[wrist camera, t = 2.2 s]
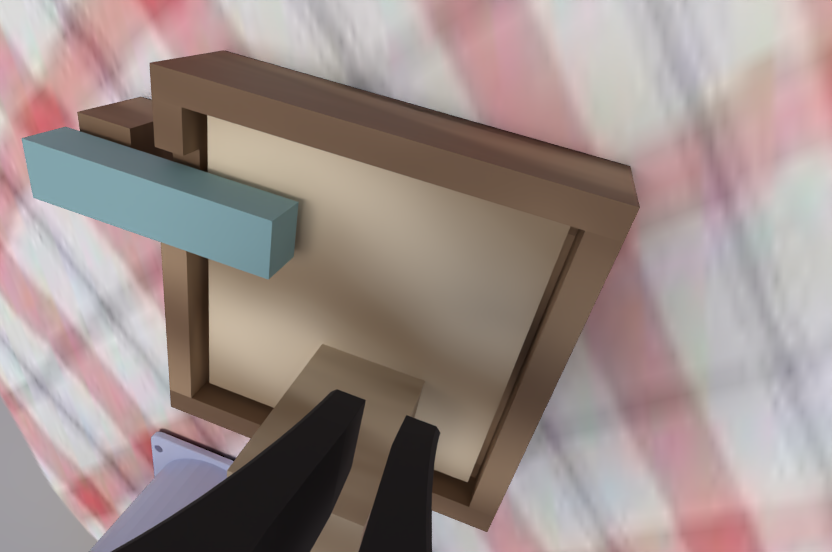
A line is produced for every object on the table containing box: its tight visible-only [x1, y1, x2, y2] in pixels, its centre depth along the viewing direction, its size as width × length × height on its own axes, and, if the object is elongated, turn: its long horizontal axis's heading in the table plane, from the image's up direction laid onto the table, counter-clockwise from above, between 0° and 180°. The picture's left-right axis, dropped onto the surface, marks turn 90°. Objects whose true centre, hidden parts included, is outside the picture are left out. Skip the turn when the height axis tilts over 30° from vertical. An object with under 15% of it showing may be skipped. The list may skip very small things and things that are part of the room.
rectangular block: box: [22, 127, 299, 280], centre depth 17 cm, size 2×8×2 cm, turn 76°
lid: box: [207, 115, 570, 552], centre depth 16 cm, size 11×11×7 cm
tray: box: [78, 51, 640, 532], centre depth 19 cm, size 14×18×4 cm
